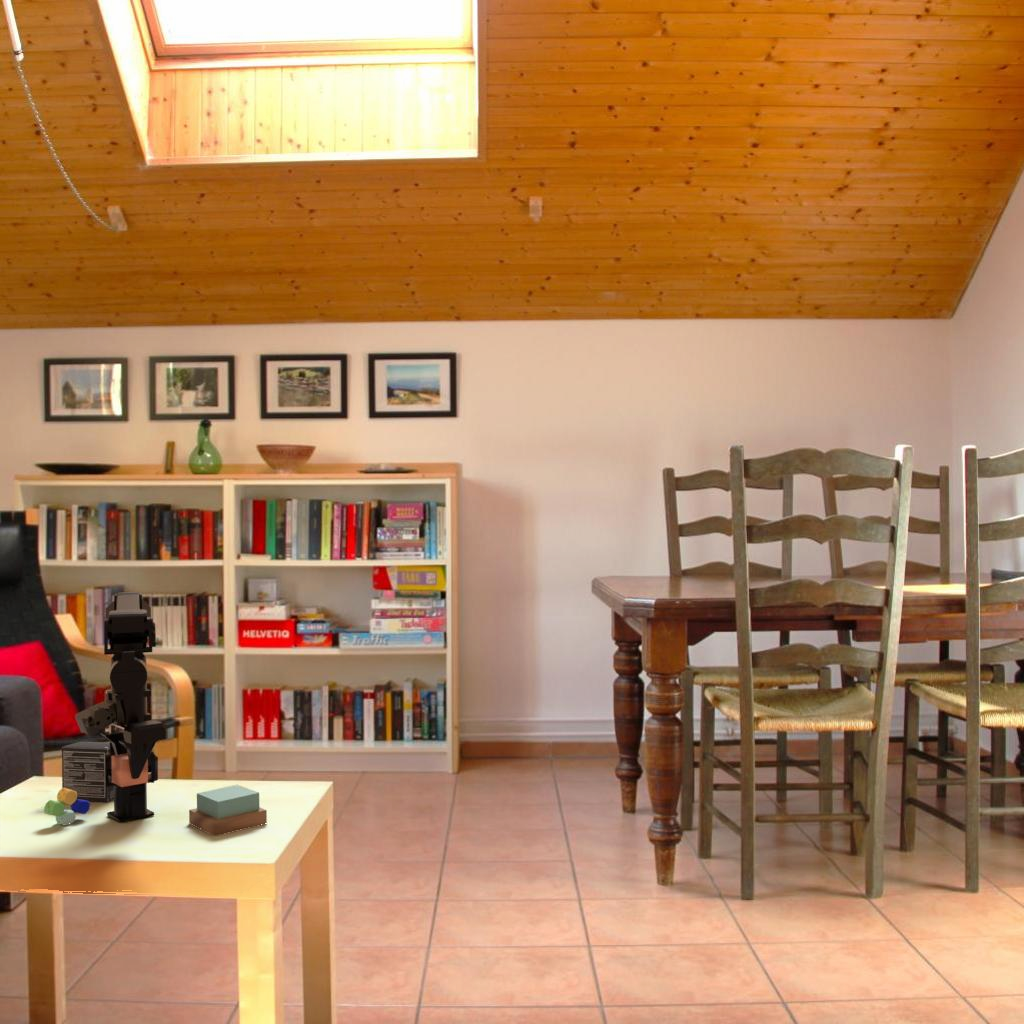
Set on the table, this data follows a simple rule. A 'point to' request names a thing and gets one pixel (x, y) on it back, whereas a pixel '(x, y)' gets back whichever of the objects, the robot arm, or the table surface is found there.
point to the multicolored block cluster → (58, 807)
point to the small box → (87, 770)
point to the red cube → (126, 771)
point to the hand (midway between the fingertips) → (129, 776)
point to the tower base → (227, 821)
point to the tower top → (227, 801)
